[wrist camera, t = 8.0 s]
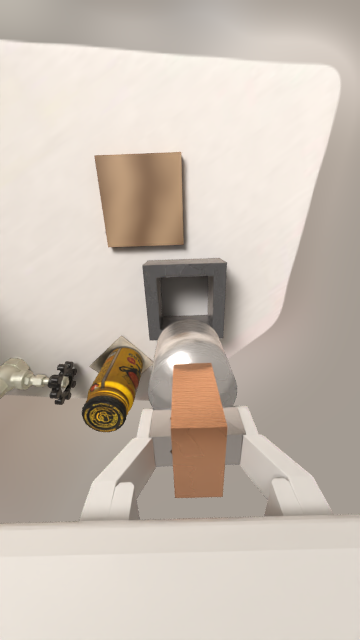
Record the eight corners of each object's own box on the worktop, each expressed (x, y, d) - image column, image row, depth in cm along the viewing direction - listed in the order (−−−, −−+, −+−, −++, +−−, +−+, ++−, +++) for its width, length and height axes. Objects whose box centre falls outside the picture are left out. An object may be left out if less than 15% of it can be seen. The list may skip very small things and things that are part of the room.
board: (110, 246, 29) (108, 247, 28) (97, 158, 25) (94, 155, 24) (183, 244, 29) (183, 244, 28) (181, 155, 25) (181, 152, 24)
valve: (10, 381, 38) (78, 385, 38) (-23, 409, 32) (59, 414, 32) (1, 349, 35) (74, 353, 36) (-36, 373, 29) (53, 378, 29)
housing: (153, 325, 34) (149, 340, 29) (148, 260, 30) (142, 265, 25) (216, 323, 33) (223, 338, 29) (219, 258, 30) (226, 262, 25)
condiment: (154, 362, 36) (143, 419, 25) (122, 389, 38) (99, 453, 27) (122, 334, 34) (94, 383, 23) (89, 365, 36) (50, 423, 25)
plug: (158, 376, 17) (141, 505, 9) (154, 320, 16) (126, 419, 7) (219, 374, 17) (256, 502, 9) (221, 318, 16) (272, 415, 7)
